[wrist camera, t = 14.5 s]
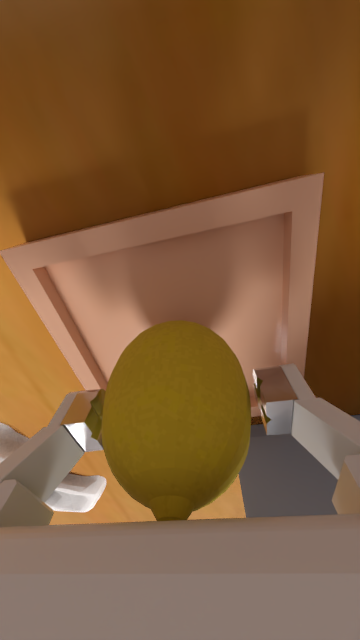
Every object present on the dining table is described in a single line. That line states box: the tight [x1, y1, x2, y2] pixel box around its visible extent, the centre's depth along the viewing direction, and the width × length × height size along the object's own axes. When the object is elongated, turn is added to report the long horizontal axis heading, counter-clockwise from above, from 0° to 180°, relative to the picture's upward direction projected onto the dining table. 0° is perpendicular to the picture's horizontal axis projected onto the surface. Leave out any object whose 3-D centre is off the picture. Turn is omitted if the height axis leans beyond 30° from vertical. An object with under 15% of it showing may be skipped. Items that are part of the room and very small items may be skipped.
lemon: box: [101, 320, 251, 521], centre depth 9 cm, size 6×6×8 cm
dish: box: [0, 173, 324, 417], centre depth 12 cm, size 13×13×2 cm
